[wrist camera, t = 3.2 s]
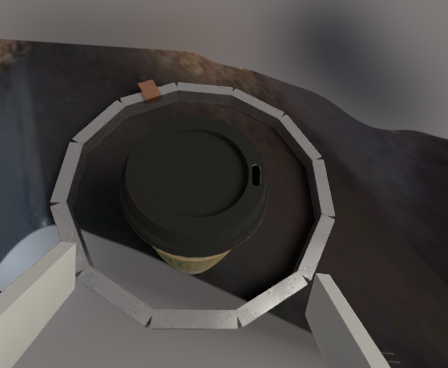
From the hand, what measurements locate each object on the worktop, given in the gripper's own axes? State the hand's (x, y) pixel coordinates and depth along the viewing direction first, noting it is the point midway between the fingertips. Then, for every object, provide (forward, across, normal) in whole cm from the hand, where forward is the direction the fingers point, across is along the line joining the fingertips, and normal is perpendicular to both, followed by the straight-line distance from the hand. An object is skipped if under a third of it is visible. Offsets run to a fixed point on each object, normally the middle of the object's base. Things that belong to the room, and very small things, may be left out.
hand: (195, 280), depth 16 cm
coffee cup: (+14, -1, -5) cm, 15 cm away
